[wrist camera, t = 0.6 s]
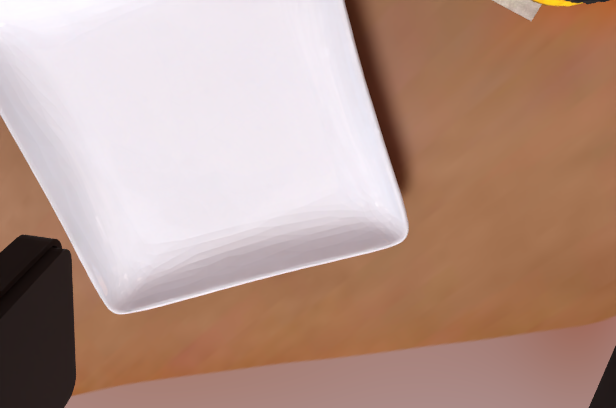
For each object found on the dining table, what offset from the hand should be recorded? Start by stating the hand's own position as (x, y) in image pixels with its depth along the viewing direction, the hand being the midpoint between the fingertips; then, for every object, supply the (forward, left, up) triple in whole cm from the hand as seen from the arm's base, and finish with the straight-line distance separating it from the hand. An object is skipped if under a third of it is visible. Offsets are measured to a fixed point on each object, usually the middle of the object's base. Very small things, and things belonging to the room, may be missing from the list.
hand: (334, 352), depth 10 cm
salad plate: (+5, -8, -27) cm, 29 cm away
